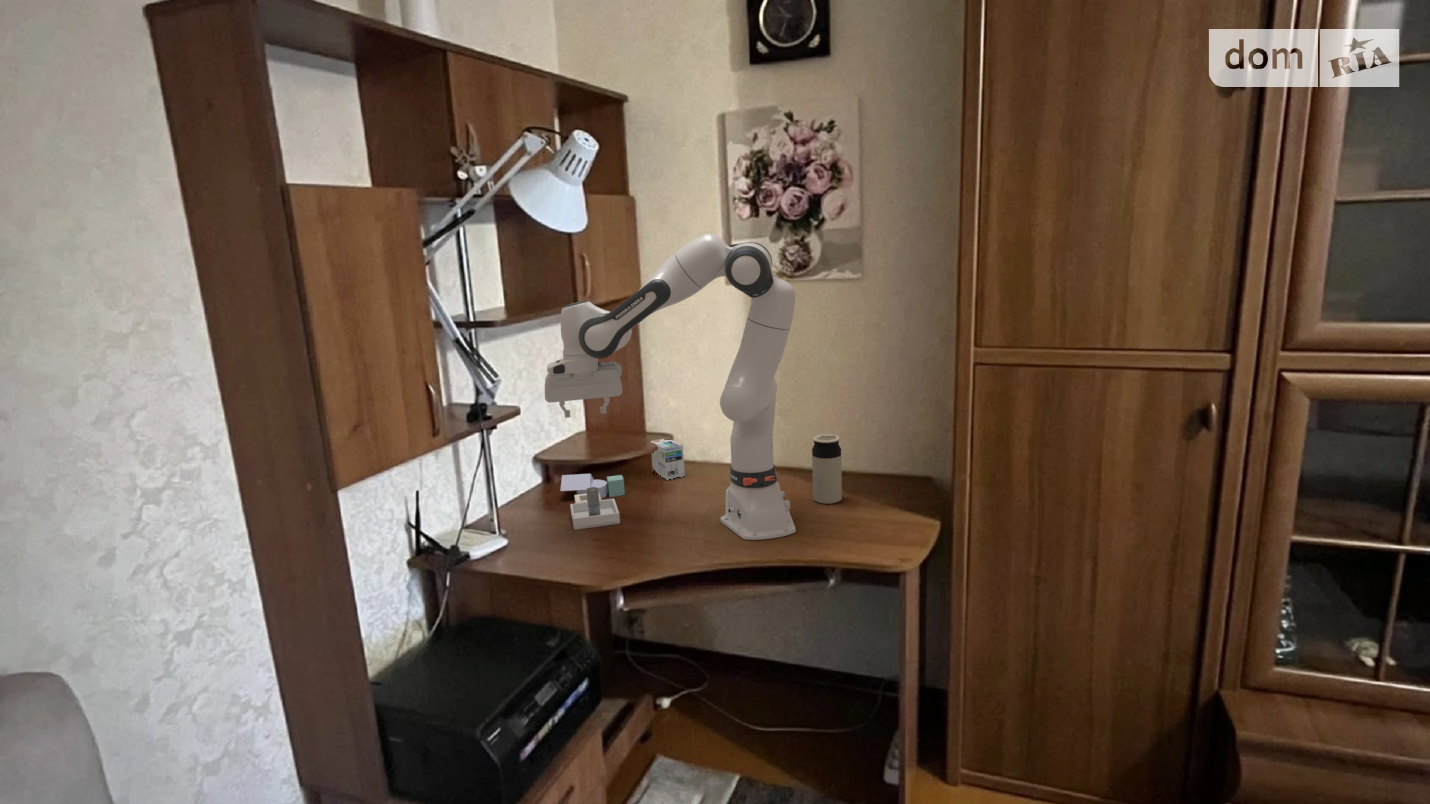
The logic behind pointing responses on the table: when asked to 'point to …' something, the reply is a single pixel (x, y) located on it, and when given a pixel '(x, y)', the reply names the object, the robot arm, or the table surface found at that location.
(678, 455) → the light bulb box
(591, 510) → the pin
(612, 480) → the block
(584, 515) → the tray
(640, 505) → the table surface
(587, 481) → the wedge on round base
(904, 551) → the table surface
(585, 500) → the socket block
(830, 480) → the travel mug
